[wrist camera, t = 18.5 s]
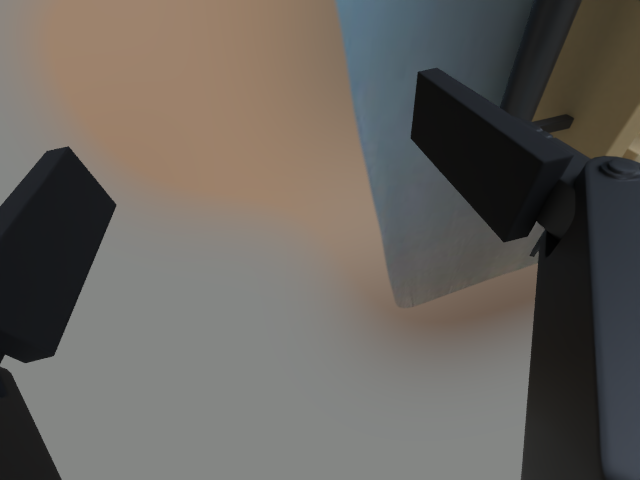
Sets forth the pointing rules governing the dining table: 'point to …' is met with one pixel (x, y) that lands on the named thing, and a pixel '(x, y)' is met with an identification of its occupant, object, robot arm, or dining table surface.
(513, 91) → the drawer
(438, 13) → the dining table surface
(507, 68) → the dining table surface
